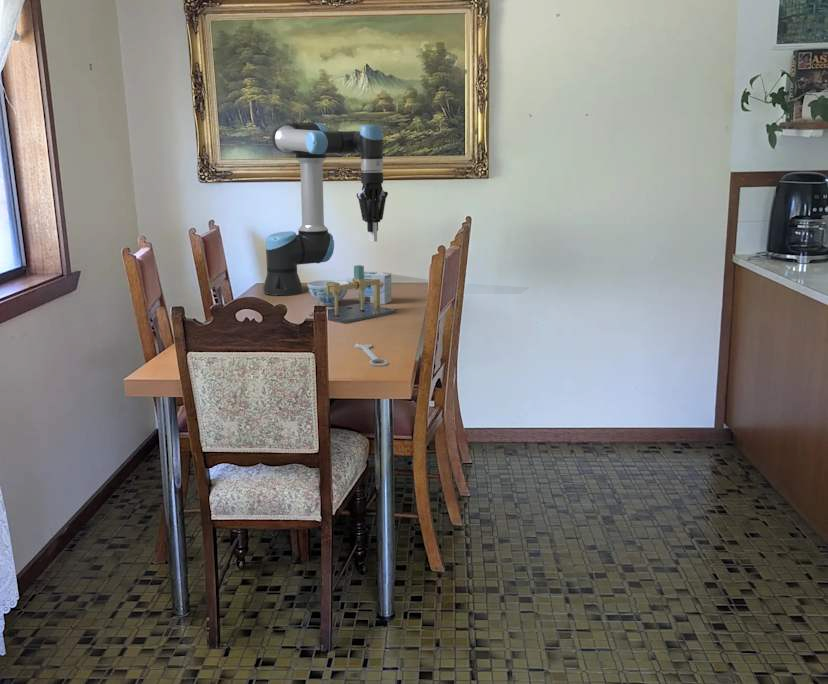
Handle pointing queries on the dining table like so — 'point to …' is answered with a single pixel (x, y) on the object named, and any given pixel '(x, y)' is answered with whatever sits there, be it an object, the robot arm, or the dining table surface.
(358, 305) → the flange plate
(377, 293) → the divider frame
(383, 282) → the light bulb box
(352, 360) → the dining table surface
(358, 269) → the sliding head
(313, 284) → the chinaware
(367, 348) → the wrench
